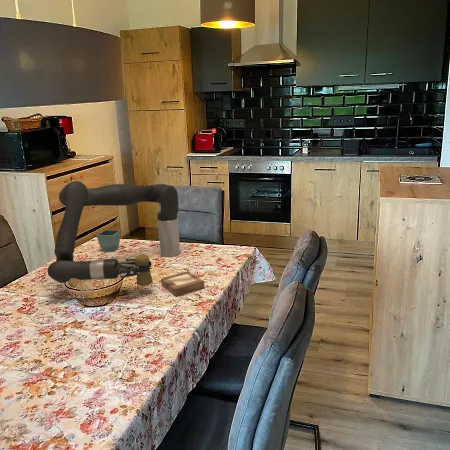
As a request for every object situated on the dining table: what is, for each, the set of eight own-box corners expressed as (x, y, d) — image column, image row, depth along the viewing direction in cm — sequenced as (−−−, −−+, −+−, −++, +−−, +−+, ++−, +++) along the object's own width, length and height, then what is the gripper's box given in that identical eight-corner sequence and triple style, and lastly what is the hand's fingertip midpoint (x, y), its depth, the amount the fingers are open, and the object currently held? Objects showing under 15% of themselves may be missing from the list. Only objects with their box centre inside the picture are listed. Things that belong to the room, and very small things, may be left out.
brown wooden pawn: (156, 282, 166) (153, 254, 163) (143, 287, 162) (140, 259, 159) (146, 278, 170) (143, 251, 167) (133, 283, 166) (130, 256, 163)
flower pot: (98, 252, 215) (96, 235, 213) (106, 246, 223) (103, 230, 221) (115, 252, 214) (113, 235, 211) (122, 247, 222) (120, 230, 219)
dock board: (161, 285, 173) (161, 278, 172) (188, 278, 179) (188, 270, 178) (176, 296, 162) (175, 289, 161) (204, 288, 168) (204, 280, 167)
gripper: (98, 267, 156) (147, 263, 157) (107, 253, 170) (151, 250, 170) (101, 286, 158) (149, 283, 159) (109, 271, 172) (153, 268, 172)
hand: (150, 266), depth 165 cm, fingers closed on brown wooden pawn, 4 cm apart
